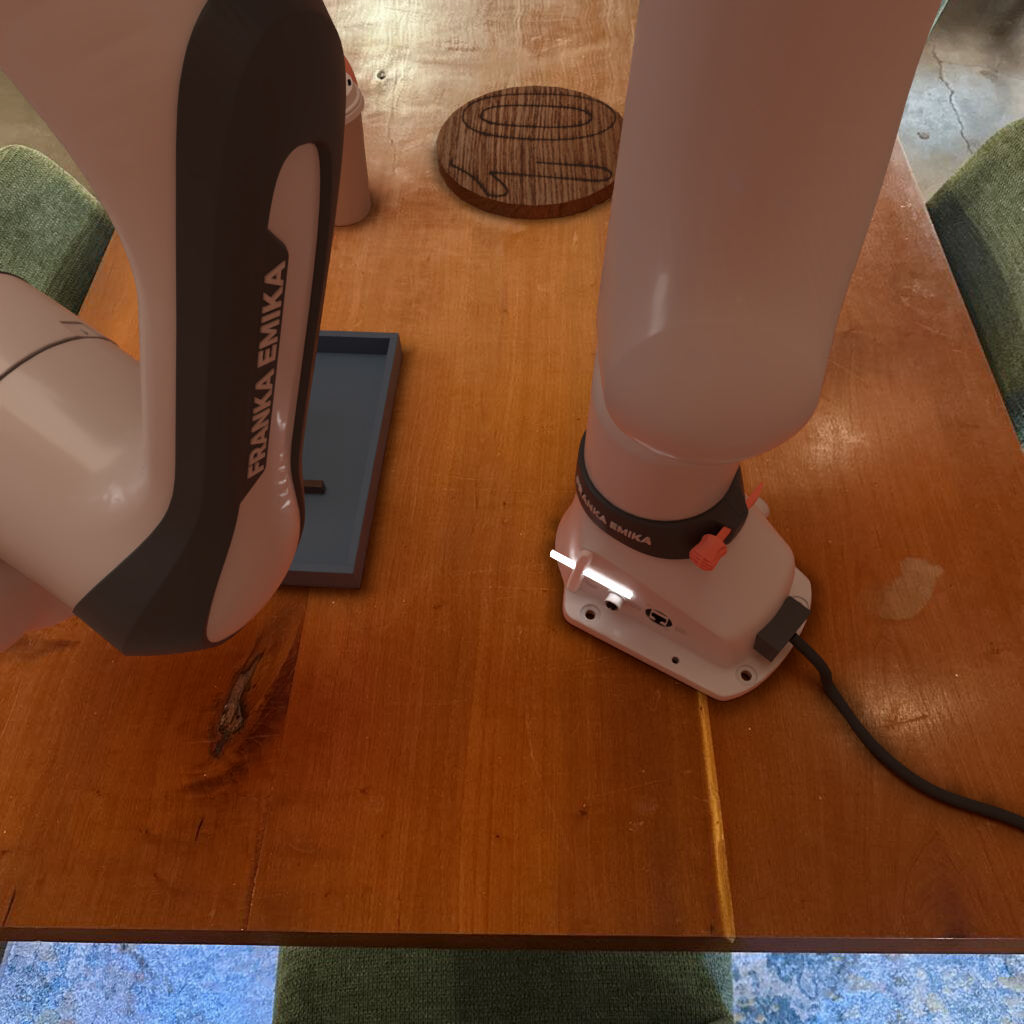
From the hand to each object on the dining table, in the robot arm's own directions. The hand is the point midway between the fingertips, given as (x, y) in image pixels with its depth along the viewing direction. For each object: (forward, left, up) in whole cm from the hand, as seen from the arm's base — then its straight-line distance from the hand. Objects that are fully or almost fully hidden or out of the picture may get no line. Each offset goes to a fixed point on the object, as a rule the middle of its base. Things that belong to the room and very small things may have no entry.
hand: (194, 487), depth 55 cm
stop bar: (+5, -7, -14) cm, 17 cm away
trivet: (+20, -62, -15) cm, 67 cm away
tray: (+7, -11, -14) cm, 20 cm away
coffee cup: (+31, -39, -15) cm, 52 cm away
